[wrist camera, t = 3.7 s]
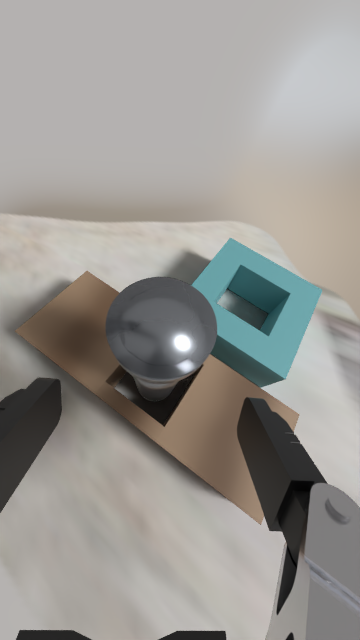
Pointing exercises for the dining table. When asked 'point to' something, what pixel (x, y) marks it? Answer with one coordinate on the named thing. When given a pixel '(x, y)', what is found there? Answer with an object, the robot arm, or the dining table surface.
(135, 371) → the axle
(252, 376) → the holder
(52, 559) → the dining table surface
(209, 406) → the beam
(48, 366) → the dining table surface
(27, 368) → the dining table surface
